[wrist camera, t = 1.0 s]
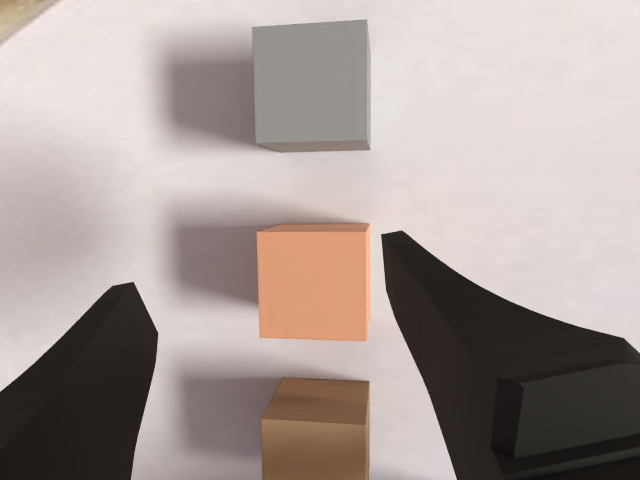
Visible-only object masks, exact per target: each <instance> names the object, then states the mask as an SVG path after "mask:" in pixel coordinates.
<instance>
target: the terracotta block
mask: <svg viewBox="0 0 640 480" xmlns="http://www.w3.org/2000/svg"><path fill="white" fill-rule="evenodd" d="M257 261H258V296H259V331H260V338H281V339H311V340H342V341H367V333H368V325H369V317H370V224H280V225H277V226H274V227H271V228H267V229H264V230H261V231H258V232H257Z"/></svg>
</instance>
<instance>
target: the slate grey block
mask: <svg viewBox="0 0 640 480" xmlns="http://www.w3.org/2000/svg"><path fill="white" fill-rule="evenodd" d="M252 33H253V70H254V108H255V143H257V144H259V145H262V146H265V147H267V148H270V149H273V150H275V151H278V152H315V151H354V150H371V54H370V44H369V35H368V25H367V20H353V21H338V22H322V23H307V24H292V25H277V26H261V27H252Z"/></svg>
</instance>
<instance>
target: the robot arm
mask: <svg viewBox="0 0 640 480" xmlns="http://www.w3.org/2000/svg"><path fill="white" fill-rule="evenodd" d="M381 237H382V248H383V260H384V272H385V283H386V291H387V294H388V297H389V301H390V304H391V307H392V310H393V313H394V316H395V319H396V321H397V324H398V326H399V328H400V330H401V332H402V335H403V337H404V339H405V341H406V343H407V346H408V348H409V350H410V352H411V354H412V356H413V359H414V361H415V363H416V365H417V367H418V369H419V372H420V374H421V376H422V378H423V380H424V383H425V385H426V388H427V390H428V393H429V395H430V398H431V401H432V404H433V407H434V410H435V413H436V416H437V419H438V422H439V425H440V428H441V431H442V434H443V437H444V440H445V443H446V446H447V449H448V452H449V456H450V459H451V462H452V465H453V468H454V471H455V475H456V478H457V480H640V353H639V352H638V351H637V350H636V349H635V348H634V347H632V346H631V345H630V344H629V343H628V342H627V341H626V340H625V339H624V338H621V337H617V336H613V335H609V334H605V333H601V332H597V331H593V330H589V329H585V328H581V327H578V326H575V325H572V324H568V323H565V322H562V321H559V320H556V319H553V318H550V317H547V316H545V315H542V314H539V313H537V312H534V311H532V310H529V309H527V308H524V307H522V306H520V305H517V304H515V303H512V302H510V301H508V300H506V299H504V298H502V297H500V296H498V295H496V294H494V293H492V292H490V291H488V290H486V289H484V288H482V287H480V286H479V285H477V284H475V283H473V282H472V281H470V280H468V279H467V278H465V277H464V276H462V275H460V274H459V273H457V272H456V271H454V270H453V269H451V268H450V267H449V266H447V265H446V264H444V263H443V262H442V261H440V260H439V259H437V258H436V257H435V256H434V255H432V254H431V253H430V252H428V251H427V250H426V249H425V248H423V247H422V246H421V245H420V244H418V243H417V242H416V241H415V240H413V239H412V238H411V237H410V236H409V235H407V234H406V233H405V232H403V231H397V232H392V233H387V234H381ZM157 342H158V332H157V330H156V328H155V326H154V324H153V322H152V319H151V317H150V315H149V313H148V311H147V309H146V307H145V305H144V303H143V301H142V298H141V296H140V294H139V292H138V290H137V288H136V286H135V284H134V282H131V283H125V284H120V285H115V286H112V287H111V288H110V289H109V290H107V291H106V292H105V293H104V294H103V295H102V296H101V297H100V298H99V299H98V300H97V301H96V302H95V303H94V304H93V305H92V306H91V308H90V309H89V310H88V311H87V312H86V313H85V314H84V315H83V316H82V317H81V318H80V319H79V320H78V321H77V322H76V323H75V324H74V325H73V326H72V327H71V328H70V329H69V330H68V331H67V332H66V333H65V334H64V335H63V336H62V337H61V338H60V339H59V340H58V341H57V342H56V343H55V344H54V345H53V346H52V347H51V348H50V349H49V350H48V351H47V352H46V353H44V354H43V355H42V356H41V357H40V358H39V359H38V360H37V361H36V362H35V363H34V364H33V365H32V366H31V367H29V368H28V369H27V370H26V371H25V372H24V373H23V374H21V375H20V376H19V377H18V378H17V379H15V380H14V381H13V382H12V383H11V384H9V385H8V386H7V387H6V388H4V389H3V390H2V391H1V392H0V480H131V474H132V467H133V459H134V452H135V447H136V442H137V437H138V433H139V429H140V425H141V421H142V417H143V413H144V409H145V405H146V401H147V397H148V393H149V389H150V385H151V381H152V377H153V372H154V368H155V362H156V353H157Z"/></svg>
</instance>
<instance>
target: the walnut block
mask: <svg viewBox="0 0 640 480" xmlns="http://www.w3.org/2000/svg"><path fill="white" fill-rule="evenodd" d="M261 440H262V476H263V480H369V381H349V380H327V379H306V378H283V379H282V381H281V383H280V385H279V387H278V389H277V390H276V392H275V394H274V396H273V398H272V399H271V401H270V403H269V405H268V407H267V409H266V410H265V412H264V414H263V416H262V418H261Z"/></svg>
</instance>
